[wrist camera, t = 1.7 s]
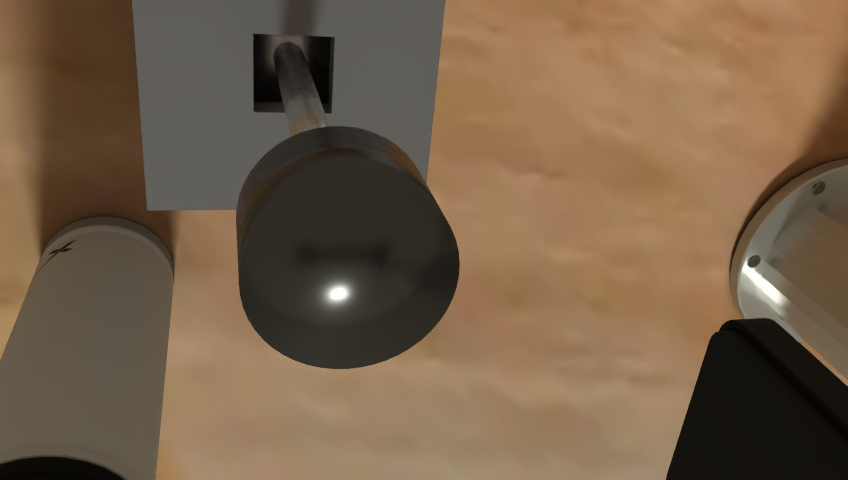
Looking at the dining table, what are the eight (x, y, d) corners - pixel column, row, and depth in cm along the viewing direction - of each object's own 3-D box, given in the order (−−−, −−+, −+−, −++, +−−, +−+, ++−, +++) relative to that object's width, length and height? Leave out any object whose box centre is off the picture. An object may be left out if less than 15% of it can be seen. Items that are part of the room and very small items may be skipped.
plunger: (375, -32, 26) (530, 126, 13) (364, 131, 28) (486, 397, 16) (196, -43, 24) (173, 120, 12) (202, 129, 27) (188, 419, 14)
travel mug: (29, 210, 37) (-129, 549, 20) (176, 217, 39) (144, 533, 22) (36, 321, 40) (-99, 703, 23) (173, 323, 42) (142, 678, 25)
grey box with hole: (376, -111, 34) (452, -72, 23) (363, 91, 38) (423, 207, 27) (156, -130, 32) (124, -98, 21) (168, 86, 36) (147, 210, 25)
